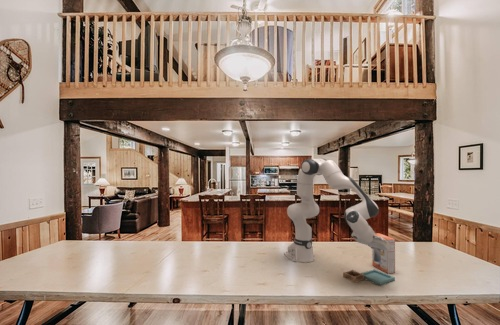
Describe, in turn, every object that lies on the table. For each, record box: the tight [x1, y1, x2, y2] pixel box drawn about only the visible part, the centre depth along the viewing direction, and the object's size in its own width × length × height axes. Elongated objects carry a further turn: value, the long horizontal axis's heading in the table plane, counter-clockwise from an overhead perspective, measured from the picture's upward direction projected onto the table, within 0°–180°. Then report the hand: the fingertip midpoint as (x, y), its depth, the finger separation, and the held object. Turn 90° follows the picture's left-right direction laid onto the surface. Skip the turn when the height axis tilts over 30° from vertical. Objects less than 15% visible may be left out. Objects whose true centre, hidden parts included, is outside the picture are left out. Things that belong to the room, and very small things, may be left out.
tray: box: [360, 269, 396, 287], centre depth 148 cm, size 13×13×2 cm
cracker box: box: [371, 232, 396, 275], centre depth 162 cm, size 14×6×21 cm, turn 11°
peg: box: [373, 247, 381, 262], centre depth 149 cm, size 4×4×12 cm
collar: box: [342, 269, 365, 283], centre depth 149 cm, size 8×8×2 cm
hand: (377, 249), depth 149 cm, fingers closed on peg, 4 cm apart
